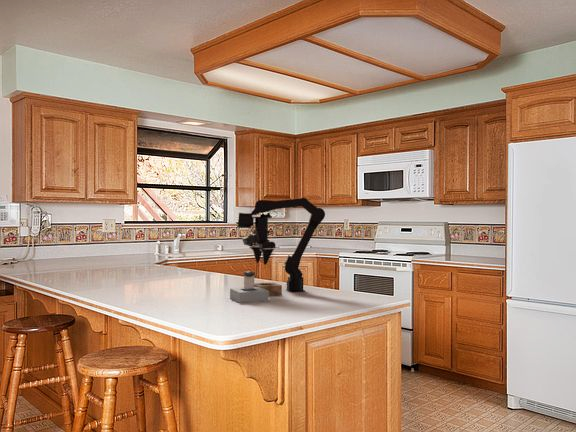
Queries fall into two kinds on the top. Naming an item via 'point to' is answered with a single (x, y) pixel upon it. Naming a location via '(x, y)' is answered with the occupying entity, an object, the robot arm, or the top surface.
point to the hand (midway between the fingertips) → (261, 263)
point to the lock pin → (248, 280)
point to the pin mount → (270, 287)
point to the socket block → (249, 295)
